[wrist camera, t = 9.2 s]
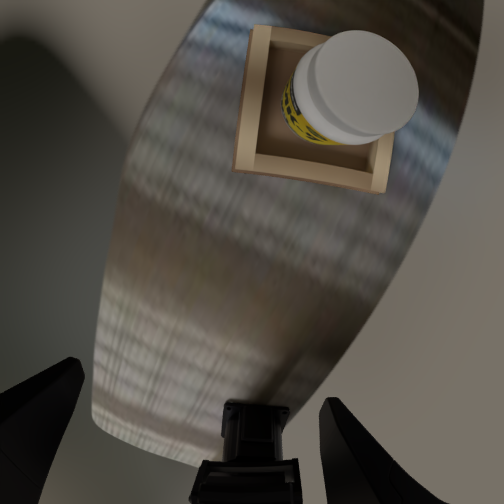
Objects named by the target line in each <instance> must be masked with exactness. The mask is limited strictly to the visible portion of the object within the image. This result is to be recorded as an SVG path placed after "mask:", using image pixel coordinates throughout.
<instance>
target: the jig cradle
mask: <svg viewBox="0 0 504 504" xmlns="http://www.w3.org/2000/svg"><path fill="white" fill-rule="evenodd" d="M329 38H331V36H326V35H322V34H317V33H312V32H307V31H301V30H295V29H289V28H282V27H274V26H266V25H256V24H254V30H253V29H250V35H249V42H248V48H247V55H246V62H245V69H244V76H243V83H242V91H241V98H240V106H239V114H238V122H237V130H236V138H235V146H234V155H233V164H232V172H239V173H248V174H257V175H265V176H272V177H280V178H287V179H294V180H300V181H307V182H313V183H319V184H325V185H331V186H336V187H342V188H347V189H352V190H358V191H363V192H368V193H372V194H377V195H379V192H381V193H385V190H386V185H387V179H388V174H389V168H390V161H391V155H392V148H393V141H394V133H395V131H394V132H391V133H388V134H385V135H383V136H382V137H380V138H379V139H377V140H375V141H372V142H370V143H366V144H361V145H319V144H314V143H310V142H307V141H305V140H303V139H301V138H300V137H298V136H297V135H296V134H295V133H294V132H293V131H292V130H291V129H290V128H289V127H288V125H287V124H286V122H285V120H284V118H283V115H282V111H281V97H282V94H283V91H284V88H285V86H286V84H287V83H288V81H289V79H290V77H291V75H292V73H293V72H294V70H295V68H296V66H297V64H298V63H299V61H300V59H301V58H302V57H303V56H304V55H305V54H306V53H307V52H308V51H309V50H311V49H312V48H314V47H315V46H317V45H319V44H322V43H324V42H326V41H327V40H328V39H329Z"/></svg>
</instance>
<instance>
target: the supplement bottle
mask: <svg viewBox="0 0 504 504" xmlns="http://www.w3.org/2000/svg"><path fill="white" fill-rule="evenodd" d="M418 96H419V89H418V82H417V78H416V75H415V72H414V70H413V68H412V66H411V64H410V62H409V61H408V59H407V58H406V56H405V55H404V54H403V53H402V52H401V51H400V50H399V49H398V48H397V47H396V46H395V45H394V44H393V43H391V42H390V41H388V40H387V39H385V38H383V37H381V36H379V35H377V34H374V33H371V32H367V31H361V30H351V31H345V32H341V33H338V34H336V35H334V36H333V37H331V38H329V39H328V40H327V41H326V42H324V43H322V44H319V45H317V46H315V47H314V48H312V49H311V50H309V51H308V52H307V53H306V54H305V55H304V56H303V57H302V58H301V59H300V61H299V63H298V64H297V66H296V68H295V70H294V72H293V73H292V75H291V77H290V79H289V81H288V83H287V84H286V86H285V88H284V91H283V94H282V97H281V111H282V115H283V118H284V120H285V122H286V124H287V125H288V127H289V128H290V129H291V130H292V131H293V132H294V133H295V134H296V135H297V136H298V137H300V138H301V139H303V140H305V141H307V142H310V143H314V144H319V145H361V144H366V143H370V142H372V141H375V140H377V139H379V138H380V137H382V136H383V135H385V134H388V133H391V132H394V131H397V130H398V129H400V128H402V127H403V126H404V125H405V124H406V123H407V122H408V121H409V120H410V119H411V118H412V116H413V114H414V112H415V110H416V107H417V103H418Z"/></svg>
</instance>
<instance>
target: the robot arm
mask: <svg viewBox="0 0 504 504" xmlns="http://www.w3.org/2000/svg"><path fill="white" fill-rule="evenodd" d="M84 379H85V374H84V371H83V368H82V364H81V362H80V360H79V359H77V358H74V357H68V358H66V359H64V360H62V361H60V362H59V363H57V364H55V365H53V366H51V367H49V368H47V369H46V370H44V371H42V372H40V373H38V374H36V375H34V376H32V377H30V378H29V379H27V380H25V381H23V382H21V383H19V384H17V385H15V386H14V387H12V388H10V389H8V390H6V391H4V392H3V393H0V504H38V502H39V499H40V496H41V493H42V489H43V487H44V484H45V481H46V478H47V476H48V473H49V470H50V467H51V465H52V462H53V460H54V457H55V454H56V452H57V449H58V447H59V444H60V442H61V439H62V437H63V435H64V432H65V430H66V428H67V425H68V423H69V421H70V419H71V416H72V414H73V412H74V409H75V406H76V403H77V400H78V397H79V394H80V391H81V388H82V385H83V382H84ZM289 413H290V411H289V408H288V407H275V406H260V405H248V404H238V403H225V404H224V410H223V420H222V431H221V436H222V437H223V438H224V447H223V457H222V462H220V461H209V460H203V461H202V464H201V466H200V467H199V470H198V474H197V476H196V480H195V482H194V485H193V488H192V491H191V494H190V496H189V502H190V503H191V504H303V499H302V487H301V479H300V471H299V463H298V458H293V459H292V460H283V452H282V435H281V434H282V432H283V429H284V427H285V424H286V421H287V419H288V416H289ZM319 429H320V455H321V461H322V467H323V475H324V482H325V489H326V496H327V504H449V503H446V502H443V501H442V500H440V499H438V498H437V497H435V496H434V495H433V494H432V493H430V492H429V491H428V490H427V489H425V488H424V487H423V486H422V485H420V484H419V483H418V482H417V481H416V480H414V479H413V478H412V477H411V476H410V475H409V474H408V473H407V472H405V470H404V469H403V468H402V467H401V466H400V465H399V464H398V463H397V462H396V461H395V460H393V458H392V457H391V456H390V455H389V454H388V453H387V451H386V450H385V449H384V448H383V447H382V446H381V445H380V444H379V443H378V442H377V441H376V439H375V438H374V437H373V436H372V435H371V434H370V433H369V432H368V431H367V430H366V428H365V427H364V426H363V425H362V424H361V423H360V422H359V421H358V420H357V418H356V417H355V416H354V415H353V414H352V413H351V412H350V411H349V410H348V409H347V407H346V406H345V405H344V404H343V403H342V402H341V400H340V399H339V398H337V397H328V398H326V399H325V401H324V403H323V405H322V408H321V410H320V413H319Z"/></svg>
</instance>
